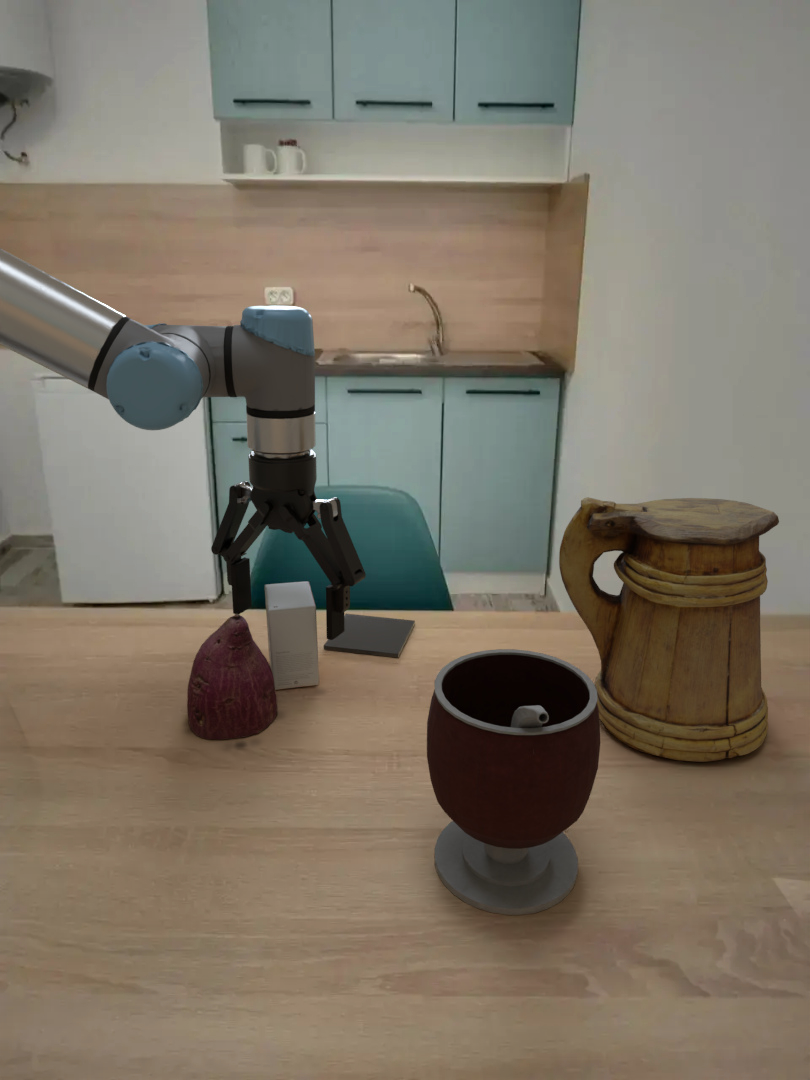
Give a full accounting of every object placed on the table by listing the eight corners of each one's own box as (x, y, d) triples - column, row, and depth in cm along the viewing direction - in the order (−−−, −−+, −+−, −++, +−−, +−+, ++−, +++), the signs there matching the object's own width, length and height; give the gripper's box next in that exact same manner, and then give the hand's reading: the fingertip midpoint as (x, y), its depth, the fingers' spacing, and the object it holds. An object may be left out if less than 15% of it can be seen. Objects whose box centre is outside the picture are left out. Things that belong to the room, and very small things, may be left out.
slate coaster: (323, 649, 108) (323, 645, 108) (345, 617, 117) (345, 613, 117) (398, 658, 106) (398, 653, 106) (414, 624, 115) (414, 620, 115)
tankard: (787, 774, 83) (832, 541, 74) (550, 754, 86) (566, 527, 78) (745, 683, 100) (777, 484, 91) (547, 669, 103) (561, 475, 94)
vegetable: (289, 744, 93) (316, 637, 86) (201, 764, 87) (222, 652, 80) (253, 684, 100) (275, 582, 94) (169, 700, 95) (186, 591, 88)
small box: (319, 686, 99) (316, 606, 95) (272, 691, 98) (267, 610, 94) (312, 655, 106) (309, 579, 103) (268, 659, 105) (264, 583, 102)
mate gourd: (417, 812, 77) (418, 618, 70) (562, 804, 79) (578, 613, 72) (438, 945, 63) (443, 718, 56) (616, 933, 64) (642, 709, 57)
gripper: (396, 457, 90) (393, 633, 97) (216, 430, 101) (226, 590, 108) (361, 473, 84) (361, 660, 91) (173, 442, 95) (186, 611, 102)
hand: (287, 622), depth 100 cm, fingers open, 13 cm apart
